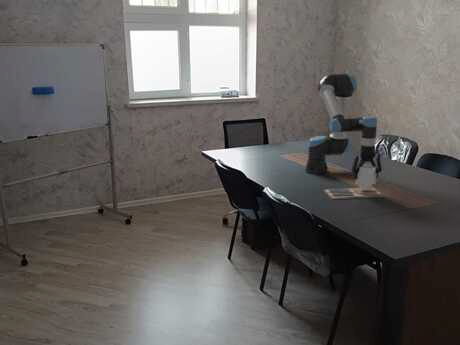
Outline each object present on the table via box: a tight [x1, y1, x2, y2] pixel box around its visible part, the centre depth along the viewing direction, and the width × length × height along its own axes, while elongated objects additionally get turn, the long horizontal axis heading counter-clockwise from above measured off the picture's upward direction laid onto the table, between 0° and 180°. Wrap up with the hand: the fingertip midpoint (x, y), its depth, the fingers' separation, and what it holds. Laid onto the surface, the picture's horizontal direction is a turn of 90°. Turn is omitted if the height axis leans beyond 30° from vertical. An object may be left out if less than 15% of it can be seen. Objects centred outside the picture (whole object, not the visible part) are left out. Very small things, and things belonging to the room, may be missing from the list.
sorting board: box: [323, 186, 384, 200], centre depth 245 cm, size 15×29×1 cm, turn 94°
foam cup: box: [358, 163, 377, 190], centre depth 243 cm, size 10×9×13 cm
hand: (365, 184), depth 244 cm, fingers closed on foam cup, 9 cm apart
